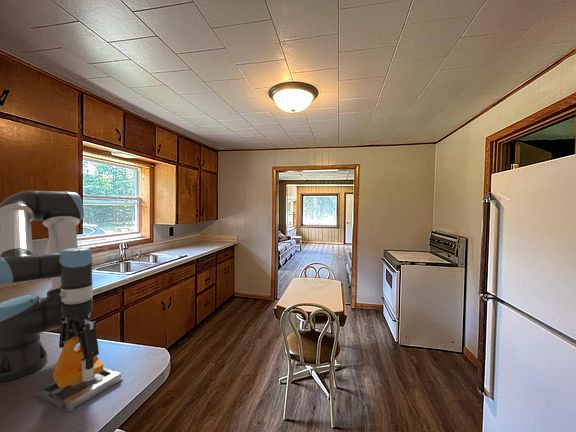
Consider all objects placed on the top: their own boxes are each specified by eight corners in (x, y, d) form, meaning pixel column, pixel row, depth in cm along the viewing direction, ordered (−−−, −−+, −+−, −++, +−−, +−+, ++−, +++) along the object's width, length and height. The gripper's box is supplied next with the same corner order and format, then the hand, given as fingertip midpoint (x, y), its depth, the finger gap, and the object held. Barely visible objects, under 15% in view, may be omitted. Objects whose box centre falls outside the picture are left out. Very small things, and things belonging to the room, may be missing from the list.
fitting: (37, 396, 78) (37, 388, 78) (93, 368, 91) (92, 361, 91) (67, 413, 72) (67, 403, 71) (122, 380, 85) (122, 372, 85)
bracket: (59, 391, 75) (58, 349, 75) (53, 381, 80) (52, 341, 80) (104, 373, 84) (103, 334, 84) (96, 364, 88) (95, 328, 88)
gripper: (42, 299, 82) (44, 372, 83) (84, 310, 73) (86, 392, 74) (71, 292, 89) (72, 360, 90) (112, 301, 80) (114, 376, 81)
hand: (79, 374), depth 82 cm, fingers closed on bracket, 8 cm apart
